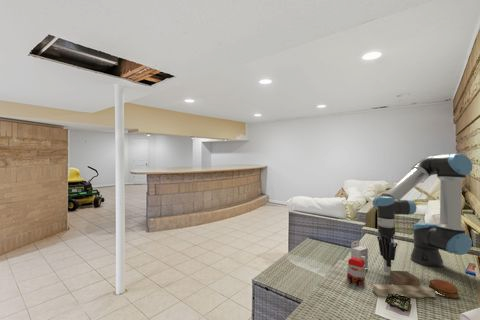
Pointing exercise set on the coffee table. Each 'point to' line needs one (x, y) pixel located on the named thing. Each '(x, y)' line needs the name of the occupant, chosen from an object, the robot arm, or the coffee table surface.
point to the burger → (444, 288)
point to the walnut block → (403, 278)
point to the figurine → (356, 270)
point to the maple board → (404, 290)
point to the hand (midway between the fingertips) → (387, 271)
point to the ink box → (359, 252)
